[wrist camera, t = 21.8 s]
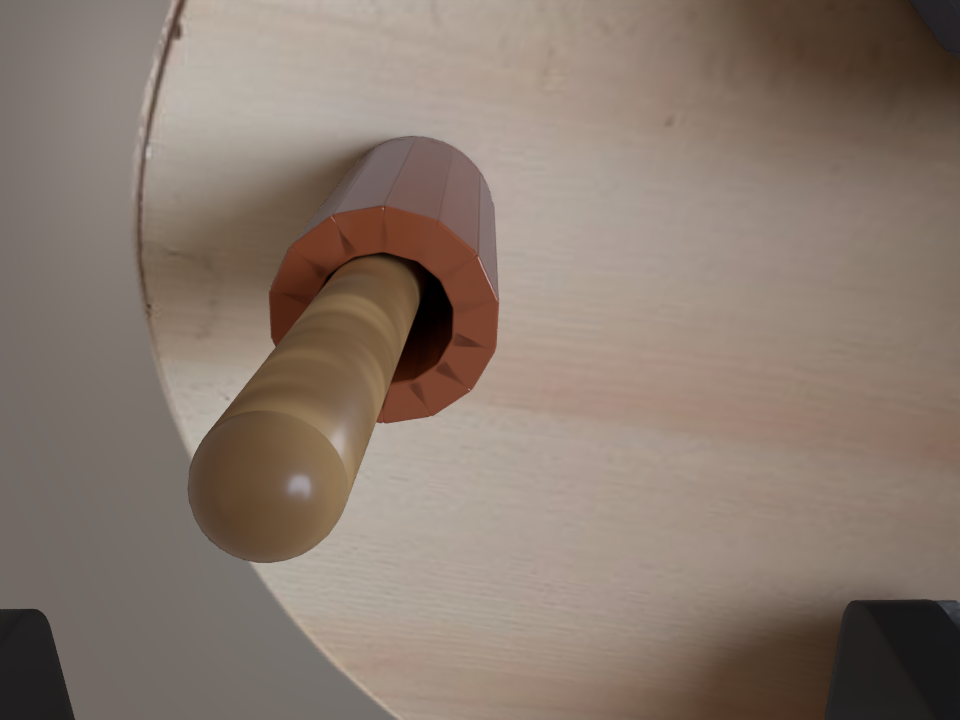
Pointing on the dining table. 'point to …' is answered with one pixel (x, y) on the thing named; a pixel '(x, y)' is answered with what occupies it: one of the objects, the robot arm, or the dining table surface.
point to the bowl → (942, 22)
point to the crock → (417, 236)
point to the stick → (306, 416)
